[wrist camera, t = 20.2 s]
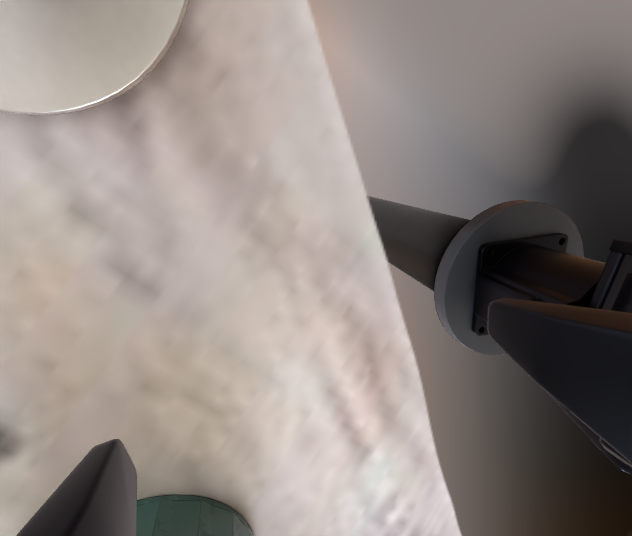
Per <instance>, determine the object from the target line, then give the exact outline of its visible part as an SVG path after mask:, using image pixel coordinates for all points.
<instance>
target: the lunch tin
mask: <svg viewBox="0 0 632 536" xmlns="http://www.w3.org/2000/svg"><path fill="white" fill-rule="evenodd" d="M136 536H253V533H252V531H251V529H250V527H249V525H248V523H247V522H246V521H245V519H244V518H243V517H242V516H241V515H240V514H239V513H237V512H236V511H235V510H233V509H232V508H230V507H229V506H227V505H225V504H222V503H220V502H218V501H215V500H212V499H208V498H204V497H198V496H189V495H167V496H158V497H152V498H147V499H142V500H139V501H137V507H136Z"/></svg>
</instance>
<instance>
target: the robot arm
mask: <svg viewBox="0 0 632 536" xmlns="http://www.w3.org/2000/svg"><path fill="white" fill-rule="evenodd" d="M567 244H568V236H567V235H566V234H563V233H552V234H545V235H538V236H531V237H524V238H517V239H509V240H502V241H495V242H488V243H484V244H482V245H481V246H480V247H479V250H478V257H477V269H476V281H475V293H474V304H473V316H472V328H471V329H472V332H473V333H475V334H476V335H478V336H484V335H490V337H491V338H492V339H493V340H494V341H495V342H496V343H497V344H498V345H499V346H500V347H501V348H502V349H503V350H504V351H505V352H506V353H507V354H508V355H509V356H510V357H511V358H512V359H513V360H514V361H515V362H516V363H517V364H518V365H519V366H520V367H521V368H522V369H523V370H524V371H525V372H526V373H527V374H528V375H529V376H530V377H531V378H532V379H533V380H534V381H535V382H536V383H537V384H538V385H540V386H541V387H542V388H543V389H544V390H545V391H547V392H548V394H549V396H550V397H551V398H552V399H553V400H554V401H555V402H556V403H557V404H558V405H559V406H560V407H561V408H562V410H563V411H564V412H565V413H566V414H567V415H568V416H569V417H570V418H571V419H572V420H573V421H574V422H575V424H576V425H577V426H578V427H579V428H580V429H581V430H582V431H583V432H584V433H585V434H586V435H587V437H588V438H589V439H590V440H591V441H592V442H593V443H594V444H595V445H596V446H597V447H598V448H599V449H600V450H601V451H602V452H603V453H604V454H605V455H606V456H607V457H608V458H609V459H610V461H611V462H612V463H613V464H614V465H615V466H616V467H618V468H619V469H621V470H623V471H624V472H627V473H629V474H631V475H632V243H629V242H624V241H618V240H613V242H612V244H611V247H610V249H609V250H611V253H610V255H609V257H608V259H607V262H606V263H602V262H598V261H594V260H591V259H587V258H583V257H580V256H576V255H572V254H568V253H566V250H567ZM487 249H488V252H487V253H486V250H487ZM480 327H481V328H480ZM479 328H480V329H479ZM136 507H137V473H136V469H135V466H134V464H133V462H132V460H131V458H130V456H129V454H128V453H127V451H126V449H125V447H124V445H123V443H122V442H121V441H120V440H119V439H113V440H110V441H108V442H105V443H102V444H99V445H97V446H95V447H94V448H92V450H90V452H89V453H88V454H87V455H86V456H85V457H84V458H83V460H82V461H81V462H80V463H79V464H78V465H77V467H76V468H75V469H74V470H73V471H72V472H71V473H70V475H69V476H68V477H67V478H66V479H65V480H64V481H63V483H62V484H61V485H60V486H59V487H58V488H57V489H56V491H55V492H54V493H53V494H52V495H51V496H50V497H49V499H48V500H47V501H46V502H45V503H44V504H43V505H42V507H41V508H40V509H39V510H38V511H37V512H36V513H35V515H34V516H33V517H32V518H31V519H30V520H29V522H28V523H27V524H26V525H25V526H24V527H23V528H22V530H21V531H20V532H19V533H18V534H17V535H16V536H136Z"/></svg>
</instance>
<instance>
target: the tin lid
mask: <svg viewBox="0 0 632 536" xmlns="http://www.w3.org/2000/svg"><path fill="white" fill-rule="evenodd" d="M188 1H189V0H0V112H5V113H13V114H24V115H59V114H65V113H71V112H77V111H82V110H85V109H88V108H92V107H95V106H98V105H101V104H104V103H106V102H108V101H110V100H112V99H114V98H116V97H118V96H120V95H122V94H124V93H125V92H127V91H128V90H129V89H131V88H132V87H134V86H135V85H137V84H138V83H139V82H141V81H142V80H143V79H144V78H145V77H146V76H147V75H148V74H149V73H150V72H151V71H152V70H153V69H154V68H155V67H156V66H157V64H158V63H159V62H160V60H161V59H162V58H163V56H164V55H165V54H166V52H167V51H168V50H169V48H170V46H171V44H172V42H173V40H174V38H175V36H176V35H177V33H178V31H179V29H180V26H181V23H182V20H183V18H184V15H185V12H186V9H187V6H188Z"/></svg>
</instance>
